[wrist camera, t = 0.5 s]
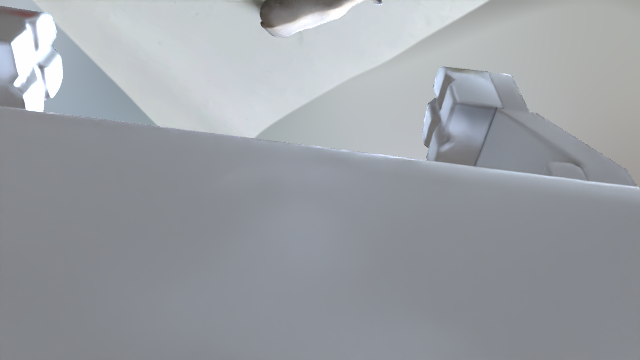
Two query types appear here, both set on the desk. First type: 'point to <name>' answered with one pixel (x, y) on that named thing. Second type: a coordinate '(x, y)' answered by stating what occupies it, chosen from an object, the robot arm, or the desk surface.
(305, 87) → the desk surface
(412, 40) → the desk surface
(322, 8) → the rhino figurine
